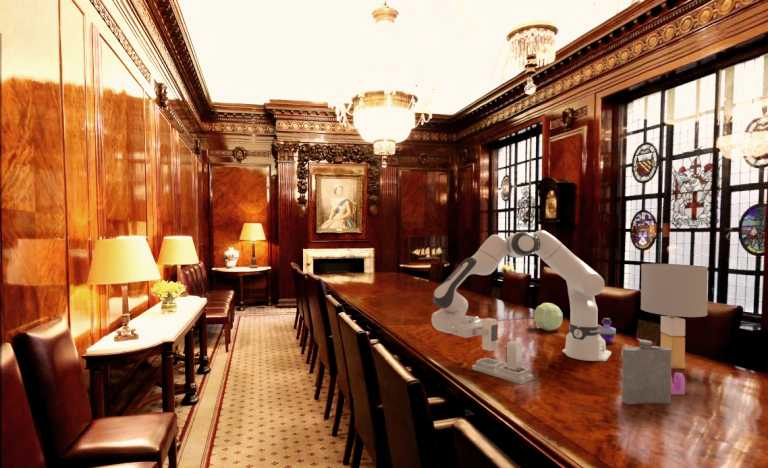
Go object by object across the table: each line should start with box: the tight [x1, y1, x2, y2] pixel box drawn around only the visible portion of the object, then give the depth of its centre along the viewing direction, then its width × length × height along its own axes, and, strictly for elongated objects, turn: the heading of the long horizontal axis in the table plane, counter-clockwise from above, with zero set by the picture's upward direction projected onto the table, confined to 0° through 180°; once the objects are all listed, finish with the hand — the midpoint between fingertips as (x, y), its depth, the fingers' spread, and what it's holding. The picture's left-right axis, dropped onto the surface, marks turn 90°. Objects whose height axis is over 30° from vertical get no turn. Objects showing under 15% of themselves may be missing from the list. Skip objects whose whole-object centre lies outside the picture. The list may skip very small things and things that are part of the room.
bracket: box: [671, 371, 686, 395], centre depth 152 cm, size 13×6×7 cm, turn 177°
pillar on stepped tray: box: [471, 340, 534, 385], centre depth 165 cm, size 8×22×14 cm, turn 42°
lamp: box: [640, 263, 709, 370], centre depth 176 cm, size 23×23×42 cm
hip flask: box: [621, 339, 672, 405], centre depth 139 cm, size 16×4×20 cm, turn 94°
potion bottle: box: [599, 317, 617, 344], centre depth 213 cm, size 9×9×12 cm
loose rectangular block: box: [481, 317, 498, 352], centre depth 168 cm, size 4×5×12 cm
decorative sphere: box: [533, 302, 564, 332], centre depth 238 cm, size 15×15×15 cm
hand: (491, 332), depth 168 cm, fingers closed on loose rectangular block, 4 cm apart
